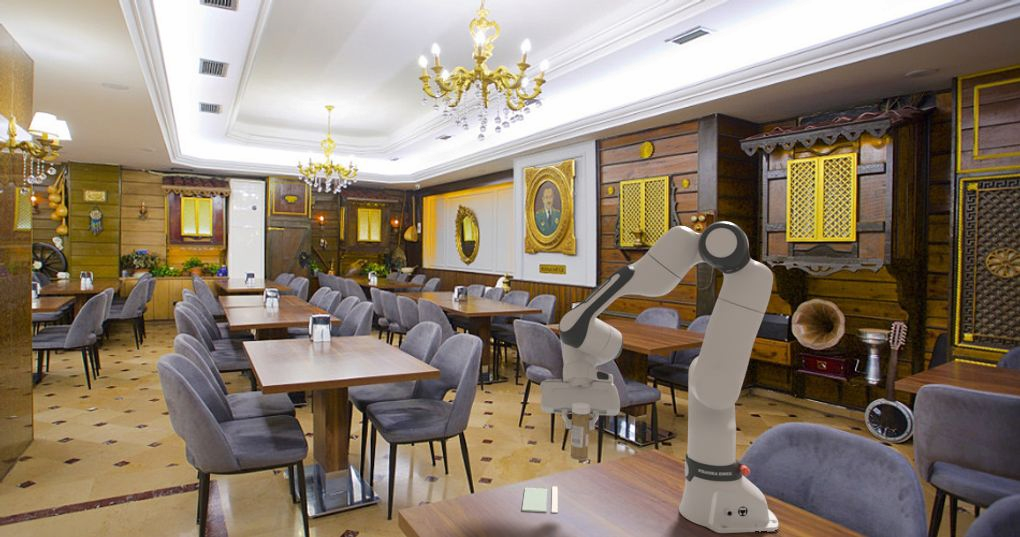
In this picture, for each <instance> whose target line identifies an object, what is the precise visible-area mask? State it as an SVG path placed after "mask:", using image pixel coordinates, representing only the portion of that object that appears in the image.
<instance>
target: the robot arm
mask: <svg viewBox="0 0 1020 537" xmlns="http://www.w3.org/2000/svg"><path fill="white" fill-rule="evenodd" d="M749 248H750V246H749V239H748V236H747V235H746V232H744V231H743V230H742V228H741V227H739V225H737V224H735V223H733V222H730V221H725V220H724V221H716V222H714V223H711V224H709V225H708V226H706V228H704V229H703V231H702V232H701V233H699V232H696V231H695V230H693V229H692V228H689V227H687V226H683V225H675V226H673V227H671V228H670V229H669V230H667V231H666V232H665V233H664V234H663V235H662V236H661V237H659V239H658V240H656V242H655V243H653V245H652V246H651V247H650V248H649V250H648V251H647V252H646V253H645V254H644V255H643V256H642V257H641V258H640V259H638V260H636V261H635V262H634V263H632V264H629V265H623V266H620V267H619V268H617V269H616V270H615V271H614V272H612V273H611V274H610V275H609V276H608V277H606V278H605V279H604V280H603V281H602V282H601V283H600V284H599V285H598V286H597V287H595V288H594V290H593V291H591V292H590V293H589V294H588V295H587V296H586V297H585V298H584V299H583V300H582V301H581V302H579V303H578V304H577V305H575V306H574V307H572V308H571V309H569V310H568V311H567V312H566V313H564V315H562V317H561V318H560V320H559V323H558V332H559V337H560V340H561V341H562V343H563V347H562V348H563V349H562V358H563V362H564V364H563V368H562V378H560V379H559V378H557V379H556V378H555V379H552V378H546V380H543V381H541V382H540V384H539V390H540V393H541V397H540V410H541V411H542V412H543V413H545V414H546V413H547V414H561V418H562V420H563V421H564V423H565V429H567V430H568V429H569V430H571V429H572V418H571V419H569V418H568V415H569V414H570V415H572V404H574V403H586V404H589V405H590V413H589V416H592V420H590V419H589V431H590V430H592V431H595V430H596V429H595V428H596V422H597V421H598V420H599V416H615V417H616V416H618V414H620V410H621V401H620V396H619V391H618V388H617V386H616V384H614V376H613V374H611V373H608V372H605V371H602V370H599V369H597V366H603V365H605V364H608V363H610V362H613V361H615V359H617V358H618V357H619V356H620V355H621V353H622V351H623V346H624V337H623V334H622V332H621V331H619V329H617V328H615V327H613V326H612V325H611V324H609V323H606V322H604V321H603V320H601V319H600V318H597V317H598V316H599V315H600V314H601V313H603V311H605V310H606V309H607V308H608V307H609V306H610V305H611V304H612V303H613V302H615V300H617V299H619V298H620V297H623V296H626V295H627V296H628V295H635V296H636V295H639V296H642V297H643V296H644V297H650V298H652V297H654V298H655V297H657V298H658V297H663V296H666V295H667V294H669V293H670V292H671V291H673V290H674V289H675V288H676V286H677V285H679V283H680V282H681V281H682V280H683V279H684V278H685V277H686V275H687V274H688V273H689V272H690V270H691V269H692V268H693V267H694V266H696V265H697V264H700V263H703V264H705V265H708V266H711V267H713V268H714V269H715V268H716V269H717V270H718V271H720V272H722V274H723V282H722V285H721V289H720V291H719V294H718V297H717V299H716V302H715V305H714V307H713V310H712V312H711V315H710V319H709V321H708V322H707V326H706V330H705V334H704V338H703V341H702V345H701V348H700V351H699V355H698V356H696V357H695V358H694V359H693V360H692V361H691V363H690V365H689V368H688V378H687V379H688V384H687V385H688V387H687V388H688V389H687V390H688V391H687V392H688V394H687V395H688V396H687V397H688V398H687V402H688V406H687V409H688V410H687V411H688V412H687V416H688V421H687V423H688V424H687V426H688V427H687V428H688V429H687V430H688V431H687V453H685V459H684V477H685V481H684V482H685V483H684V490H683V494H682V498H681V501H680V504H679V507H678V511H679V513H680V514H681V515H682V517H683V518H685V519H687V520H688V521H690V522H692V523H694V524H697V525H699V526H702V527H705V528H708V529H710V530H711V531H713V532H715V533H718V534H734V533H736V534H737V533H756V532H755V531H759V533H761V531H767V532H776V531H775V530H777V529H778V530H779V528H780V527H779V520H778V518H777V516H776V514H774V513H773V512H772V510H770V509H769V507H768V502H767V500H766V497H765V495H764V493H763V492H762V491H761V490H760V489H759V488H758V487H757V486H756V485H755V484H754V483H753V482H751V481H750V480H749V479H748V478H747V477H748V476H749V475H751V469H750V467H748V466H747V465H746V464H743V462H741V461H740V460H739V459H737V458H736V446H737V444H736V442H737V440H736V439H737V438H736V437H737V425H736V407H735V403H736V402H737V401H738V399H739V397H740V394H741V390H742V387H743V383H744V380H745V377H746V374H747V371H748V366H749V362H750V359H751V354H752V350H753V347H754V344H755V340H756V337H757V335H758V331H759V329H760V326H761V324H762V322H763V318H764V316H765V313H766V311H767V309H768V308H767V307H768V306H769V302H770V297H771V295H772V288H773V283H774V274H773V272H772V270H771V269H770V268H769V266H767V265H765V264H764V263H762V262H759V261H756V260H754V259H752V258H751V255H750V254H751V253H750V250H749ZM778 527H779V528H778ZM778 530H777V531H778Z"/></svg>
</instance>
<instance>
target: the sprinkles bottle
mask: <svg viewBox="0 0 1020 537" xmlns="http://www.w3.org/2000/svg"><path fill="white" fill-rule="evenodd" d="M589 413H590V405H589V404H586V403H574V404H572V414H571V420H572V429H570V430H571V431H570V432H571V434H570V458H571V459H572V460H576V461H585V460H588V459H589V442H590V441H589V438H590V437H589V436H590V435H589V433H590V429H589V420H590V415H589Z"/></svg>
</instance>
